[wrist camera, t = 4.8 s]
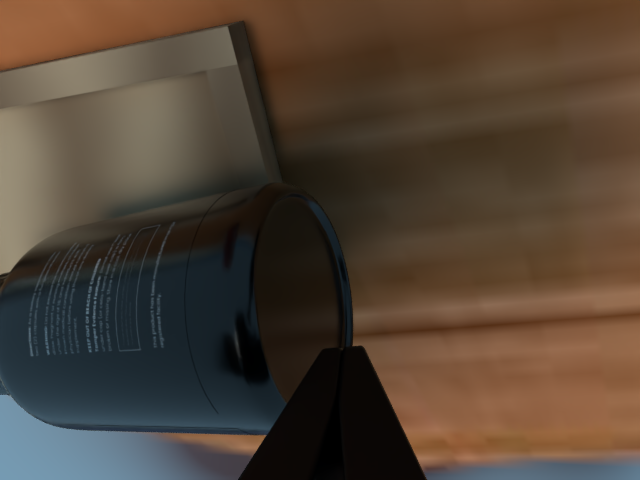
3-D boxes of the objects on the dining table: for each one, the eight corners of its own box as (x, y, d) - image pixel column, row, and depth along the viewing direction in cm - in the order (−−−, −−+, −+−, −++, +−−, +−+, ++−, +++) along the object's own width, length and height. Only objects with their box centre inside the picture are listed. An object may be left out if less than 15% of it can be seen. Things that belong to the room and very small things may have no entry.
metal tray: (242, 20, 13) (227, 26, 12) (314, 312, 19) (310, 340, 18) (-151, 102, 16) (-206, 115, 14) (20, 336, 22) (-5, 363, 20)
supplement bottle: (331, 168, 14) (76, 222, 19) (218, 195, 8) (-125, 267, 12) (369, 356, 15) (121, 366, 20) (298, 510, 9) (-43, 474, 13)
